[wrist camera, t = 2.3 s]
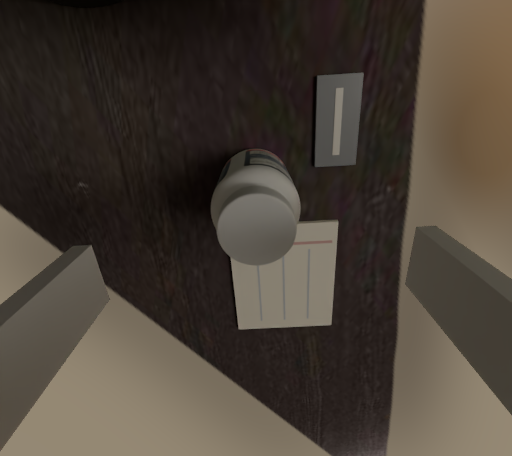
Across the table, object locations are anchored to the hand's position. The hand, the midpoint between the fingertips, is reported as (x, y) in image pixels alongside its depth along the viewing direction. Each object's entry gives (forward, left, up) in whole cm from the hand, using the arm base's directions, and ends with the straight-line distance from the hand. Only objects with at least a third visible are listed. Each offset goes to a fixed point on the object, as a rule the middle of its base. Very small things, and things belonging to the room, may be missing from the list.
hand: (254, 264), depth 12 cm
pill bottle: (0, 0, -12) cm, 12 cm away
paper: (+9, +2, -11) cm, 14 cm away
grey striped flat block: (-4, +6, -11) cm, 13 cm away
